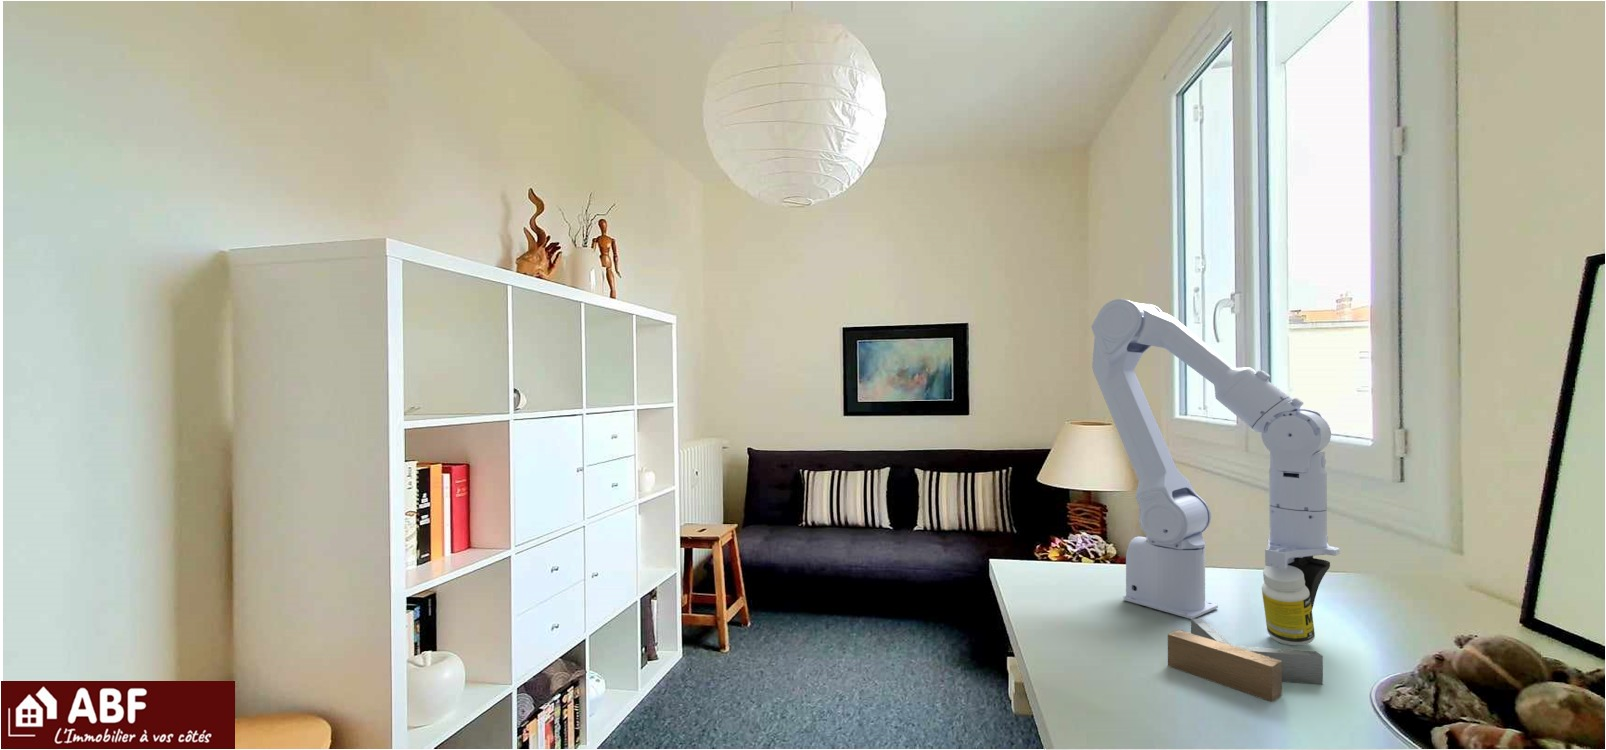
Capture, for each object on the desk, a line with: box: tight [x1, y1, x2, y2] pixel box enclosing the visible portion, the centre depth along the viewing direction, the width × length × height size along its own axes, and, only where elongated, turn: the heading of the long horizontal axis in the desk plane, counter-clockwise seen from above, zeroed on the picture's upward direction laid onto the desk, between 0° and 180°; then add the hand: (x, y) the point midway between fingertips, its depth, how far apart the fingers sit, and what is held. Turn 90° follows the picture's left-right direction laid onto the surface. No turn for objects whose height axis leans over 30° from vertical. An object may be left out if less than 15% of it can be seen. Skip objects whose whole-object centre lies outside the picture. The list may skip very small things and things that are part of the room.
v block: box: [1167, 618, 1324, 703], centre depth 71 cm, size 13×10×4 cm
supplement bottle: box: [1261, 565, 1316, 646], centre depth 79 cm, size 5×5×8 cm
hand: (1298, 616), depth 81 cm, fingers closed
